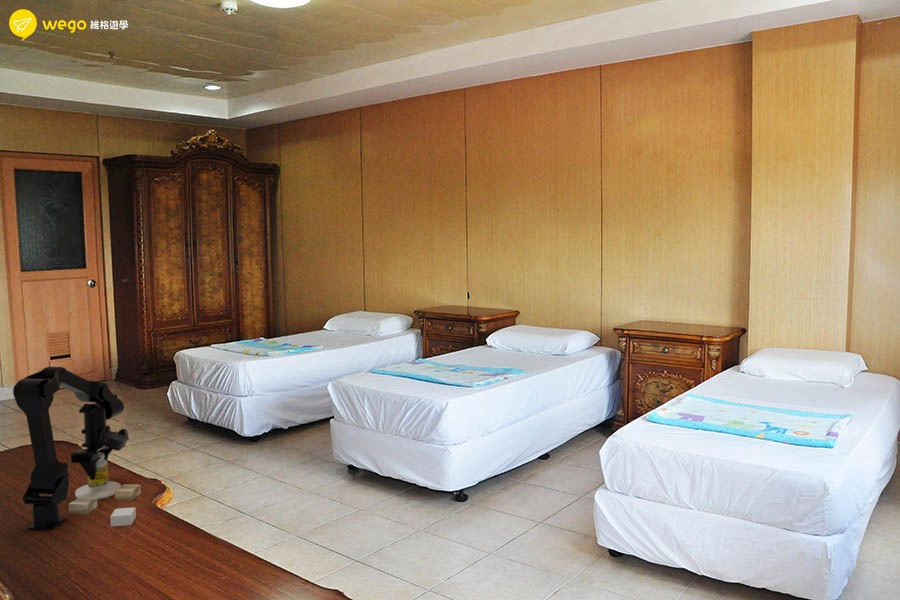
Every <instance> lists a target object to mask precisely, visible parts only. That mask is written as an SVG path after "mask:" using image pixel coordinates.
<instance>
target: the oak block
mask: <svg viewBox="0 0 900 600" xmlns="http://www.w3.org/2000/svg"><path fill="white" fill-rule="evenodd" d="M141 485H142V484H125V483H124V484H123V485H122V484H121V487H120V488H118V489H117V490H115V495H114V499H115V501H126V502H127V501H128V502H129V501H130V502H132V501H134V500H135V499H136V498H138V497H139V496H140V495H141V494H142V486H141ZM137 496H138V497H137Z"/></svg>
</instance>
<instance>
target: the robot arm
mask: <svg viewBox="0 0 900 600" xmlns="http://www.w3.org/2000/svg"><path fill="white" fill-rule="evenodd" d="M61 388H64V389H66V390H68V391H70V392H73V394H74V395H75V397H76V398H77V399H78V400H80V401H81V402H83V405H82V407H81V408H80V409H79V410H78V412H79V414H83V427H84V428H83V429H81V434H83V435H84V442H83V443H82V444H81V447H82V448H78V449H76V450H75V451H73V452H72V453H71V454H70V455H69V462H70V463H73V464H76V463H77V464H79V465H80V466H81V467H82V468H83V470H84V472H85V473H86V474H87V477H88V476H89V478H90V479H91V480H94V479H95V476H96V465H97V462H98V461H99V459H100V458H101V457H98V453H104V456H105V457H104V459H105V460H106V461H107V462H108V460H109V456H110V453H112V452H113V451H117V452H118V451H121V450H122V449H123V448H125V447H126V443H127V441H128V440H130V437H129V433H128V430H127V429H126V428H122V429H120V430H119V431H111V426H110V425H107V420H111V419H112V418H114V417H117V416H119V415H121V414H122V413H123V412H124V410H125V405H124V402H123V401H122V399H120V398H118V394H117V393H113V392H112V391H111V389H110V387H109V385H108V384H107V383H106V382H105V381H103V382H102V381H94V380H88V379H86V378H84V377H82V376H81V375H78V374H76V373H73V372H71V371H69V370H67V368H65V367H63V366H47V367H44V368H42V369H41V370H40V371H37V372H34V373H33V374H30V375H27V376H25V377H23V378H21V379H19V380H18V381H17V383H16V384H15V385H14V386H13V389H12V393H13V397H14V400H15V403H16V405H17V407H18V408H19V409H20V410H21V411H22V412H23V413H24V414H25V416H26V421H27V426H28V431H29V432H28V433H29V437H30V443H31V449H32V454H33V459H34V467H33V469H32V471H31V472H30V475H29V477H30V478H29V479H30V482H29V484H28V486H27V488H26V491H25V492H24V494H23V496H22V501H23V503H24V505H32V518H33V522H32V523H31V524H30V525H29V526H28V527H27V529H28V530H53V529H55V528H56V527H57V526H58V525H60V524H61V523H62V522H63V521H65V520H66V517H65V516H60V503H62V502H63V501H65V500H67V497H68V490H69V485H70V478H69V477H70V473H69V471H68V470H69V469H68V466H69V465H68V464H67V462H64V461H63V462H62V461H59V460H58V457H57V451H56V445H55V441H54V434H53V429H52V428H53V427H52V422H51V418H50V417H51V416H50V412H49V411H50V410H49V409H50V407H51V406H52V403H53V401H54V395H55V394H56V393H57V392H58V391H59V390H60V389H61ZM84 402H85V403H84Z"/></svg>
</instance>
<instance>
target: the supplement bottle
mask: <svg viewBox="0 0 900 600" xmlns="http://www.w3.org/2000/svg"><path fill="white" fill-rule="evenodd" d="M98 457H101V458H100V459H99V461H98V462H97V465H96V476H95V479H94V480H91V479H90V478H89V476H88V475H87V484H88V487H89V488H91V489H99V488H103V487H105V486H107V485H108V481H109V471H108V469H109V466H108V460H107V461H106V460H105V459H104V457H105V456H104V453H98Z"/></svg>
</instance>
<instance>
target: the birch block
mask: <svg viewBox="0 0 900 600" xmlns="http://www.w3.org/2000/svg"><path fill="white" fill-rule="evenodd" d="M96 507H97V508H98V499H97V498H95V497H79V498H75V500H73V501H71V502H70V503H68V514H71V515H84V516H85V515H88V514H89V513H91V512H92V511H94V510H95V509H97V508H96ZM93 509H94V510H93Z"/></svg>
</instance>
